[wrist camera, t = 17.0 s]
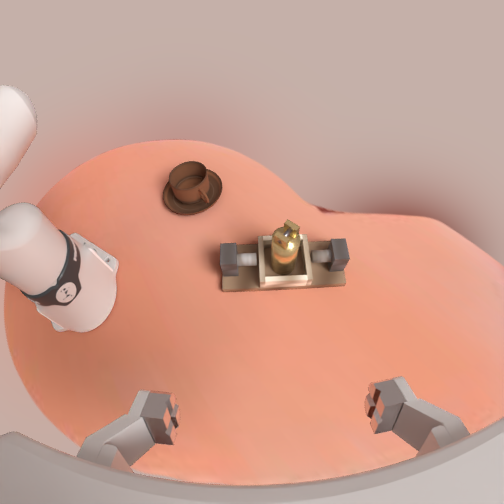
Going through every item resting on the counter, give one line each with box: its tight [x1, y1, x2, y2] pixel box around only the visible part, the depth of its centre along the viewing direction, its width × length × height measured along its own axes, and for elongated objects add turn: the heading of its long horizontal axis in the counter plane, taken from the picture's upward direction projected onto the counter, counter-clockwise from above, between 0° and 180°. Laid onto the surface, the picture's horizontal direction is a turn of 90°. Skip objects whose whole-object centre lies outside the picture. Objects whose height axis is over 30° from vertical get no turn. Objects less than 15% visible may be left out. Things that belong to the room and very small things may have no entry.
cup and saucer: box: [163, 161, 222, 215], centre depth 54 cm, size 12×12×6 cm
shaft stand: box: [220, 234, 350, 292], centre depth 45 cm, size 20×8×6 cm, turn 92°
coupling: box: [271, 220, 300, 275], centre depth 42 cm, size 4×4×10 cm
